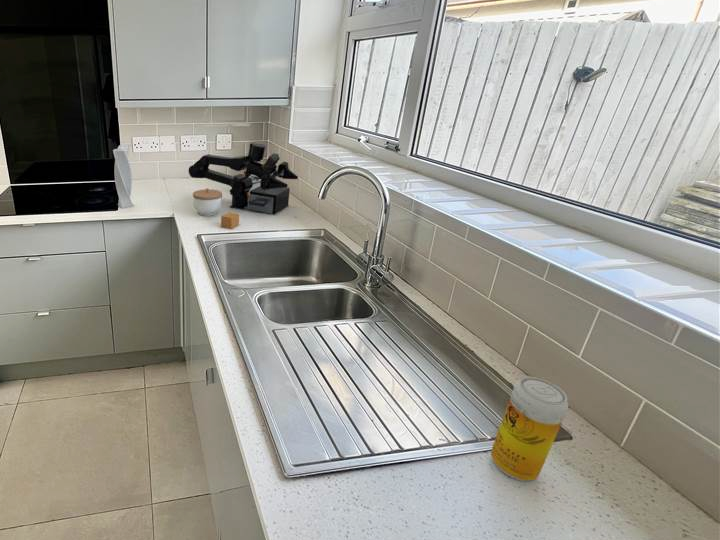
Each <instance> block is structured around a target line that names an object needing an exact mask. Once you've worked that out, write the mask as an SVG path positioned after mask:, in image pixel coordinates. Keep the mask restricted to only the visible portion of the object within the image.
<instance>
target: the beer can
mask: <svg viewBox="0 0 720 540" xmlns="http://www.w3.org/2000/svg"><path fill="white" fill-rule="evenodd" d="M510 394H511V395H510V397H509V399H508V402H507V405H506V408H505V411H504V414H503V417H502V419H501V422H500V425H499V428H498V430H497V432H496V436H495V439H494V441H493V443H492V444H493V445H492V447H491V450H490V456H491V458H492V460H493V462H494V464H495V465H496V467H497V468H498V469H499V471H501V472H502V473H503V474H504V475H506V476H508V477H509V478H512V479H514V480H518V481H522V482H527V481H528V482H529V481H534V480H536V479H538V478H539V476H540V473H541V472H542V469H543V466H544V465H545V462H546V461H547V458H548V455H549V453H550V451H551V448H552V446H553V444H554V441H555V440H556V438H557V435H558V432H559V430H560V428H561V425H562V423H563V421H564V419H565V416H566V414H567V412H568V410H569V403H568V395H567V394H566V393H565V391H564V390H563V389H562V388H560V387H559V386H558V385H556V384H555V383H553V382H551V381H550V380H549V381H548V380H546V379H544V378H541V377H540V378H539V377H535V376H524V377H522V378H520V379H519V380H518V381H517V382H516V383H515V384H514V386H513V389H512V392H511V393H510Z"/></svg>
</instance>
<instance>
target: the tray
mask: <svg viewBox="0 0 720 540" xmlns="http://www.w3.org/2000/svg"><path fill="white" fill-rule="evenodd" d="M247 209H248V210H249V209H250V211H255V210H256V211H255V212H260V211H261V212H260V213H265V212H266V214H270V213H271V215H273V214H272V213H273V211H274V197H273V196H267V195H261V194H255V193H253V194H249V198H248V207H247Z"/></svg>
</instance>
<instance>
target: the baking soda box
mask: <svg viewBox="0 0 720 540" xmlns="http://www.w3.org/2000/svg"><path fill="white" fill-rule="evenodd" d="M260 163H261V164H265V163H264V162H260ZM245 171H246V169H244V170H243V175H245V173H244V172H245ZM249 178H251V180H252V182H253V186H252V188H251V189H250V191H251V190H253V189H255V188H257V187H259V186H260V183H261V180H260V179H258V178H259V177H258V176H255V175H252V174H251V176H249ZM250 191H249V192H248V193H246V194H247V197H248V199H249V194H250Z"/></svg>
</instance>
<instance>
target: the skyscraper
mask: <svg viewBox="0 0 720 540" xmlns="http://www.w3.org/2000/svg"><path fill="white" fill-rule="evenodd" d="M123 145H126V146H128V147H127V148H125V147H123ZM130 147H131V144H130V143H127V142H125V143H121V144H119V145H118V146H117V148H114V149H113V150H112V153H113V157H114V172H113V173H114V174H113V175H114V182H115V188H116V192H117V196H118V201H117V202H118V203H117V206H118V207H120V208H122V209H123V208H124V209H125V208H130V207H134V204H133V202H132V199H131V195H132V185H133V180H132V179H133V177H132V169H131V165H130V162H129V159H128V158H129V152H130Z"/></svg>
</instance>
